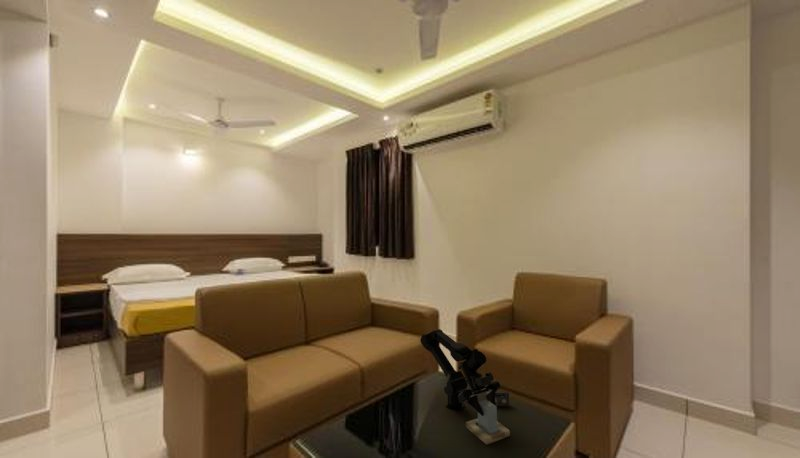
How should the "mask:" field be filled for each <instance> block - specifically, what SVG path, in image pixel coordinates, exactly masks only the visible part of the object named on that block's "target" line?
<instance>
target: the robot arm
mask: <svg viewBox="0 0 800 458" xmlns="http://www.w3.org/2000/svg"><path fill="white" fill-rule="evenodd" d="M420 344H421V345H422V346H423V348H424V350H426V351H428V352H430V353H431V354H432V355H433V357H434V360H435V361H436V363H437V364H438V366H439V368H440V369H441V371H442V372H443V374H444V376H445V378H446V379H445V381H446V386H444V388H443V391H444V394H446V395H447V404H446V405H445V407H446V408H447V409H451V410H454V411H456V412H460V411H461V410H462V409H463V408H464V406H465V403H466V404H469V405H470V406H471V407H472V408H473V409H474V410H476V412H477V413H478V412H479V413H480V414H481V415H482V416H483V415H484V413H483V411H482V408H481V406H480V404H479V402H480V401H479V399H478V395H480V394H484V393H485V398H486V399H487V400H488V401H490V402H491V403H492V404H494V405H495V406H496V402H495V392H498V390H499V389H501V388H502V385H501V383H500V382H499V381H498V380H496V381H494V380H495V378H494V375H493V373H492V372H486V373H485V375H484V376H483V375H482V373H481V372H478V370H480V369H481V367H483V366H484V365H485V364H486V362H487V357H486V354H484V353H483V352H482V351H479V350H478V348H474V349H471V348H470V347H468V346H467V345H466V344H464V343H461V342H457V341H455V340H454V339H453V338H451V337H450V336H449V335H447V334H446V333H445V332H444V331H443V329H440V328H438V329H434V330H432V331H430V332H429V333H426V334H425V333H424V334H422V335H421V338H420ZM440 345H441V346H443V347H444V348H445V349H446V350H448V351H449V355H450V356H451V358H452V359H453V360H454V361H455V362H457V363H458V362H459V365H458V371H457V370H455V368H454V367H453V365H452V364H451V362H450V360H449V359H448V357H447V356H446V354H445V353H444V351H443V350H442V348H441V347H440ZM461 370H462V371H461ZM468 386H469V388H468Z"/></svg>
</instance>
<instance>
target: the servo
mask: <svg viewBox="0 0 800 458" xmlns="http://www.w3.org/2000/svg"><path fill="white" fill-rule="evenodd" d="M478 402H479V404H480V406H481V408H482V411H483V413H484V415H483V416H482V415H481V414H480V413H479V412H478V411H477V418H478V419H477V418H476V419H477V420H475V421H476V423H478V427H479V428H481V429H482V430H483V431H484V432H485V433H487V434H489V433H490V434H494V433H497V432H498V431H500V429H499V428H498V427H497V422H498V410H497V408H498V406H495V405H494V404H492V403H491V402H490V401H488V400H487V398H486V399H484V400H480V401H478Z"/></svg>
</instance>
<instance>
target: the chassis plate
mask: <svg viewBox="0 0 800 458" xmlns="http://www.w3.org/2000/svg"><path fill="white" fill-rule="evenodd" d="M477 419H478V417H476V418H474V419H471V420H469V421H466V422H465V427H466V428H467V429H468V430H469V431H470V432H471V433H472V434H473V435H475V436H476V437H477V439H479V440H480V441H481V442H483V443H484V444H485V445H490V444H492V443H495V442H497V441H500V440H502V439H505V438H507V437H510V435H511V432H510V429H509V428H507V427H506V426H504V424H502V423H500V422H499V421H497V427H498V428H499V429H500V431H498V432H497V433H494V434H490V433H489V434H487V433H485V432H484V431H483V430H482V429H481V428H479V427H478V423H476V421H475V420H477Z"/></svg>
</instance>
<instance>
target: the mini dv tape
mask: <svg viewBox="0 0 800 458" xmlns="http://www.w3.org/2000/svg"><path fill="white" fill-rule="evenodd" d="M509 399H510V394H509V391H496V392H495V402H496V406H497V407H509V406H510V400H509Z"/></svg>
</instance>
